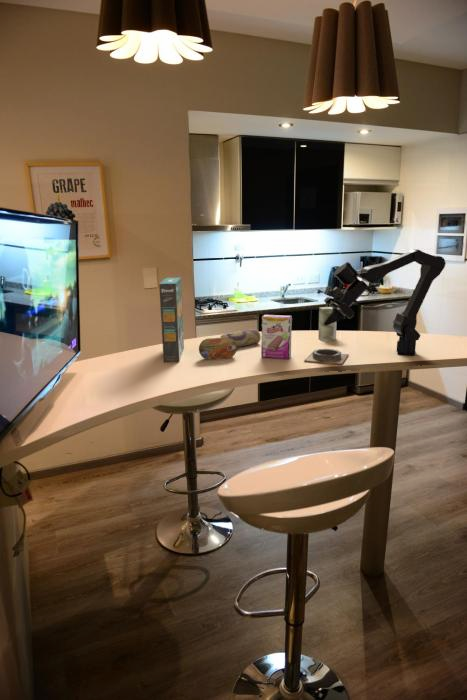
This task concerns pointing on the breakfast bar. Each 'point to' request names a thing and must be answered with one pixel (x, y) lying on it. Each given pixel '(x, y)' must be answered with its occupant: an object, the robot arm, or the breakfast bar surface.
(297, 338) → the breakfast bar surface
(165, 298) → the cake mix box
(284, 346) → the candy bar box
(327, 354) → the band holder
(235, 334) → the beige packaged roll
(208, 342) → the brown printed food package
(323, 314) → the peg
